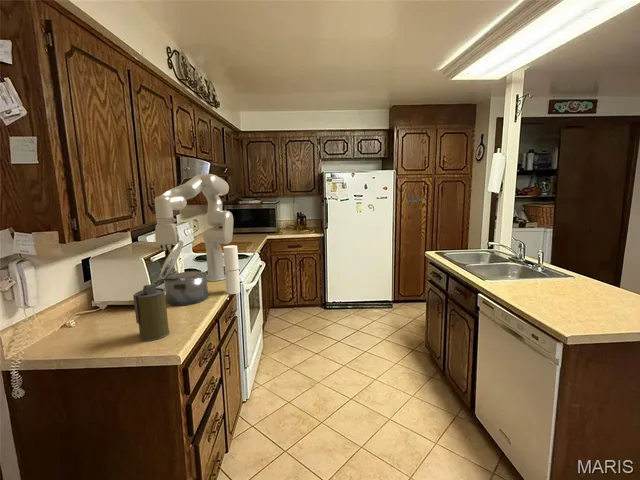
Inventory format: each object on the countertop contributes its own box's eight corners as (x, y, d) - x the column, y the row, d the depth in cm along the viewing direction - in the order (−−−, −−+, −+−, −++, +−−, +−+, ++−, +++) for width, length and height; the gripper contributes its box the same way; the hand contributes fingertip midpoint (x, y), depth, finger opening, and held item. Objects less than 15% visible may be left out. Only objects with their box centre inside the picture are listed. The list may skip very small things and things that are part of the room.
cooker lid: (170, 272, 177) (165, 270, 177) (187, 238, 176) (182, 236, 175) (157, 283, 157) (151, 281, 157) (175, 245, 156) (169, 242, 155)
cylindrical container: (236, 294, 176) (233, 247, 172) (224, 293, 177) (220, 247, 173) (242, 290, 183) (239, 245, 179) (230, 289, 184) (227, 245, 180)
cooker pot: (174, 293, 181) (172, 271, 179) (212, 290, 184) (210, 269, 182) (159, 309, 157) (156, 284, 155) (202, 305, 160) (200, 281, 158)
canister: (161, 327, 136) (156, 279, 133) (174, 333, 130) (169, 284, 127) (133, 336, 128) (127, 286, 125) (145, 344, 122) (139, 291, 118)
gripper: (183, 220, 168) (186, 255, 171) (152, 221, 166) (156, 257, 169) (178, 221, 160) (182, 259, 163) (146, 223, 159) (150, 260, 162)
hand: (169, 258), depth 166 cm, fingers closed
